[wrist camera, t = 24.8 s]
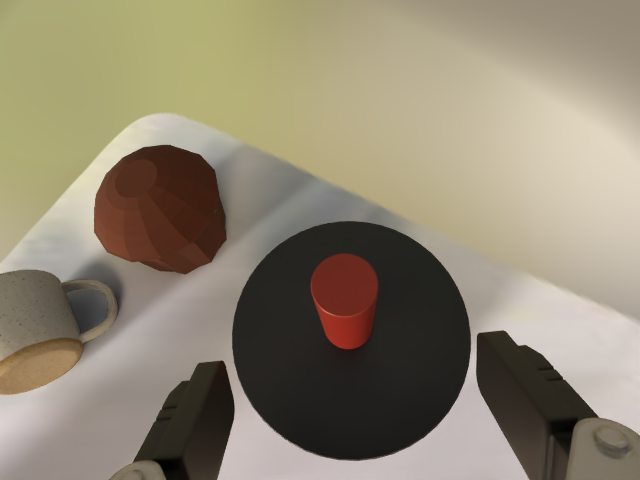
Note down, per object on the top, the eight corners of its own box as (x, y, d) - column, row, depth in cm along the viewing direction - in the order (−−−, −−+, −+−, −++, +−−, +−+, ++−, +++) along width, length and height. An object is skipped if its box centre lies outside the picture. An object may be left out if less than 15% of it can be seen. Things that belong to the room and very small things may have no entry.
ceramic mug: (29, 405, 33) (-54, 399, 26) (3, 332, 37) (-77, 309, 30) (138, 329, 36) (87, 305, 29) (104, 267, 39) (51, 232, 32)
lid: (336, 524, 20) (323, 585, 12) (195, 317, 26) (126, 271, 18) (517, 340, 23) (596, 298, 16) (356, 193, 29) (356, 108, 21)
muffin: (220, 295, 36) (176, 252, 27) (116, 281, 38) (41, 236, 29) (250, 191, 41) (220, 126, 32) (156, 182, 43) (104, 118, 34)
